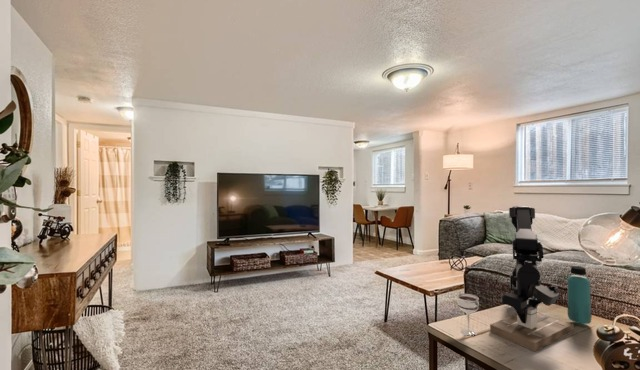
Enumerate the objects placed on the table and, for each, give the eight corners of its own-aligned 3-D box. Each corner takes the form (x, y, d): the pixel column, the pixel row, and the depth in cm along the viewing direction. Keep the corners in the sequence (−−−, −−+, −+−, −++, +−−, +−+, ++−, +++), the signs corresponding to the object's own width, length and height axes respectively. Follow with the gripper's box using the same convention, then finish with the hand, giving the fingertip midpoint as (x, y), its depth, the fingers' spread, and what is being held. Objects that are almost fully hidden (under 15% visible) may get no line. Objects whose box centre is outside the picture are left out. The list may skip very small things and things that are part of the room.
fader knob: (523, 321, 107) (522, 303, 107) (537, 326, 103) (537, 308, 103) (517, 323, 106) (516, 306, 105) (531, 329, 102) (531, 311, 101)
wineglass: (484, 333, 105) (483, 298, 105) (471, 339, 102) (471, 302, 102) (465, 325, 111) (464, 292, 111) (453, 331, 108) (452, 296, 107)
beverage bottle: (596, 329, 106) (595, 270, 105) (573, 327, 107) (573, 269, 107) (584, 320, 112) (583, 264, 112) (563, 319, 114) (562, 264, 113)
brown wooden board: (528, 315, 117) (528, 308, 117) (573, 331, 105) (573, 323, 105) (490, 331, 107) (490, 324, 106) (534, 351, 94) (534, 342, 94)
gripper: (536, 287, 93) (537, 340, 93) (569, 276, 101) (569, 324, 102) (499, 277, 102) (500, 324, 103) (532, 268, 111) (533, 311, 112)
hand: (527, 321), depth 104 cm, fingers closed on fader knob, 3 cm apart
